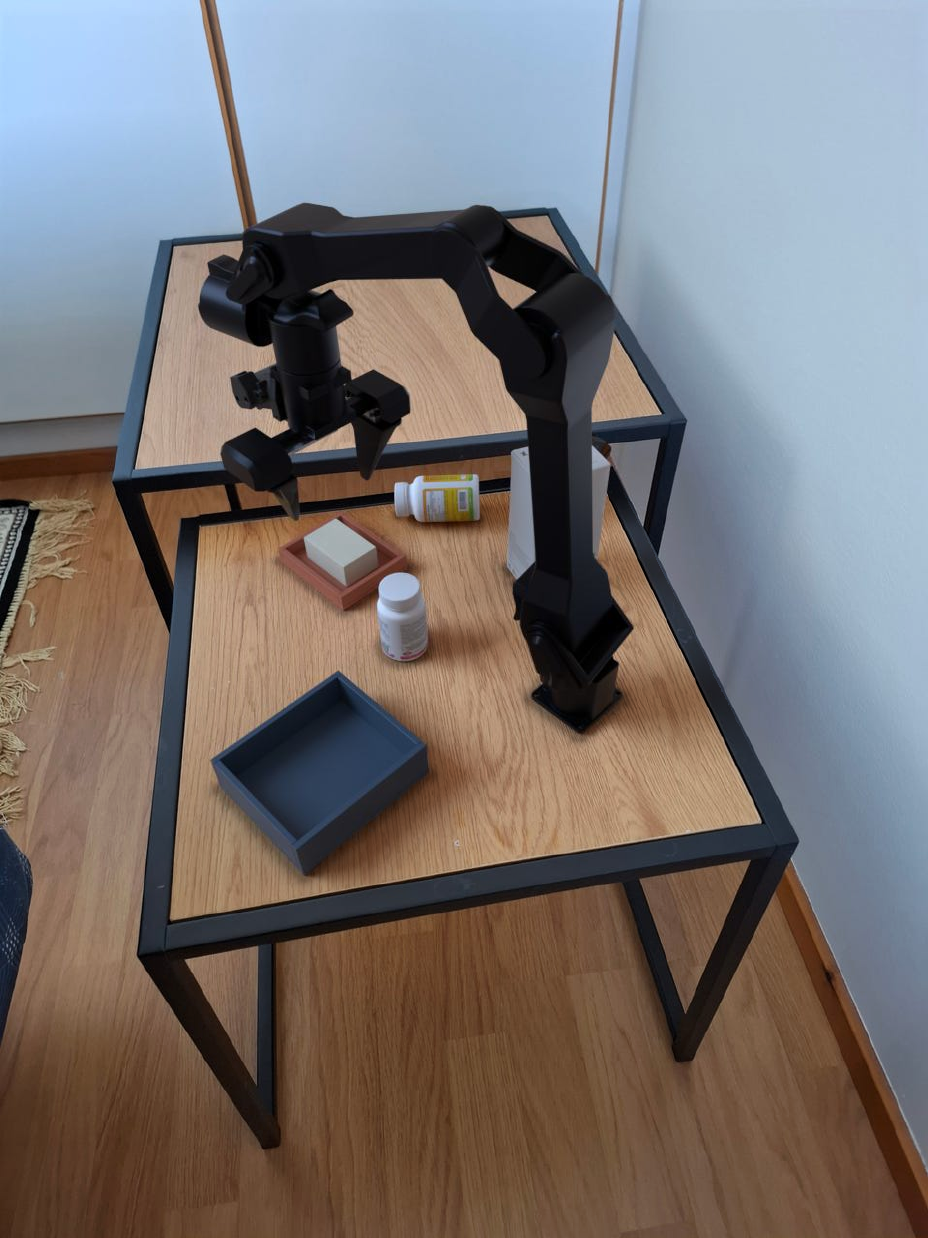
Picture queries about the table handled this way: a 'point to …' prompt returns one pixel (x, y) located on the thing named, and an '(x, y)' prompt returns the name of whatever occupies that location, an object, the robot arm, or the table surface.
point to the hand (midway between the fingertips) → (330, 498)
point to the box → (321, 769)
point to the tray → (327, 584)
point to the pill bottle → (402, 617)
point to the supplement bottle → (439, 498)
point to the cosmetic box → (521, 509)
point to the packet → (341, 552)
